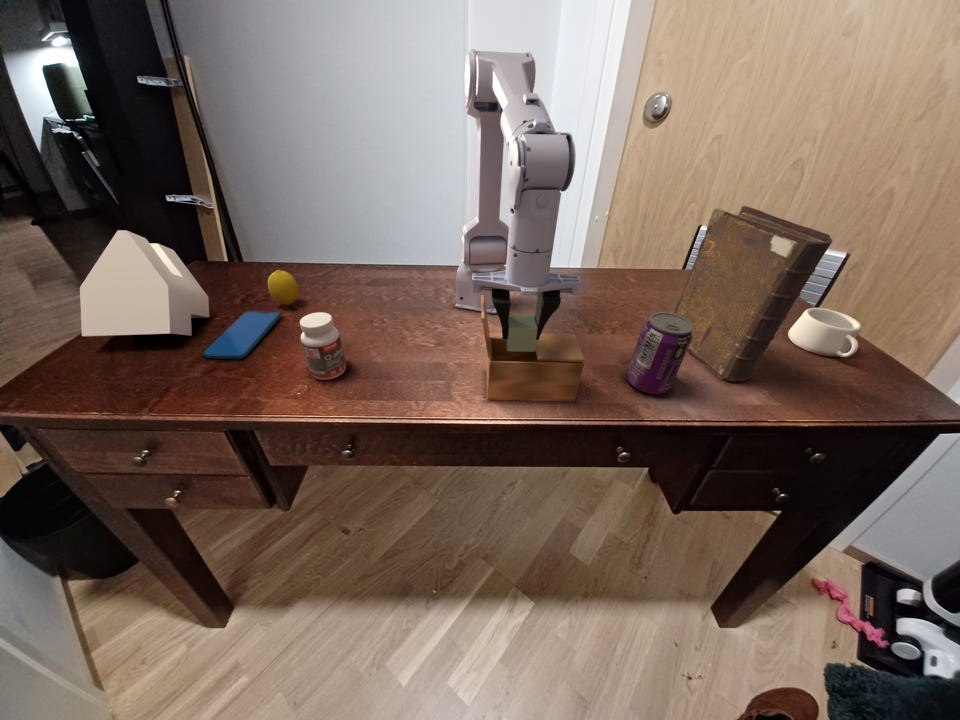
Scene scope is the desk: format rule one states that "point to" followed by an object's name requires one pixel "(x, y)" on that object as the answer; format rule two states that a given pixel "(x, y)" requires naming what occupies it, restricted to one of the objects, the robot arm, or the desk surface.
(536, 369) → the carton
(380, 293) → the desk surface
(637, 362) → the beverage can
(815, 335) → the mug
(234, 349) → the smartphone
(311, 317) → the pill bottle
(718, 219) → the book
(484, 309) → the flap
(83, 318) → the white house-shaped piece
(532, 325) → the block
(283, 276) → the lemon
